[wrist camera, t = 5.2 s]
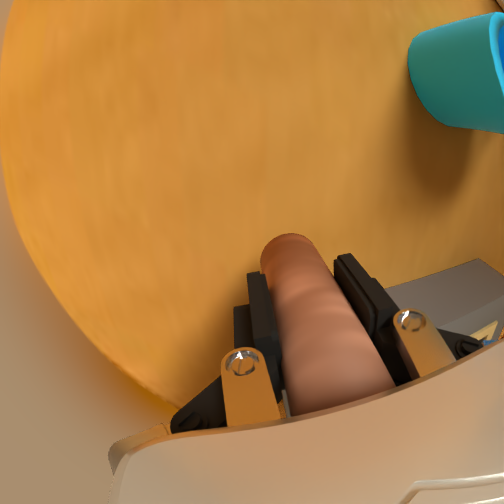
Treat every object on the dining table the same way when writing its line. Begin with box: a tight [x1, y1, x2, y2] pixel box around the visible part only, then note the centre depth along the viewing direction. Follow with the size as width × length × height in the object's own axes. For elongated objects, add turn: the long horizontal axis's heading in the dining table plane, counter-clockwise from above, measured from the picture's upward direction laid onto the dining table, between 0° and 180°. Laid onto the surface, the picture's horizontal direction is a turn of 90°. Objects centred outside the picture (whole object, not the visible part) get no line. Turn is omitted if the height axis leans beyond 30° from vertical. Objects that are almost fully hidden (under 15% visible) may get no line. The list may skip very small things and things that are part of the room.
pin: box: [260, 233, 396, 417], centre depth 10 cm, size 3×3×10 cm
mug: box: [408, 12, 504, 134], centre depth 10 cm, size 12×8×8 cm
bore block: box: [282, 258, 504, 418], centre depth 21 cm, size 22×12×6 cm, turn 100°
